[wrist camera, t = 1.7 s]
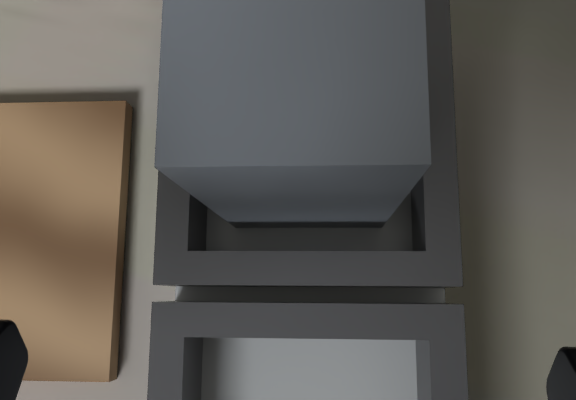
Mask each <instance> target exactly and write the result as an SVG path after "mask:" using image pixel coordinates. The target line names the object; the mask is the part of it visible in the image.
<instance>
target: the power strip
mask: <svg viewBox="0 0 576 400" xmlns="http://www.w3.org/2000/svg"><path fill="white" fill-rule="evenodd" d="M425 16H426V42H427V67H428V93H429V118H430V143H431V166H430V167H429V168H428V169H427V171H426V172H425V173H424V174H423V176H422V177H421V178H420V180H419V181H418V182H417V183H416V185H415V186H414V187H413V189H412V190H411V191H410V192H409V194H408V195H407V196H406V197H405V199H404V200H403V201H402V203H401V204H400V205H399V206H398V208H397V209H396V210H395V212H394V213H393V214H392V215H391V217H390V218H389V219H388V220H387V222H386V223H385V224H384V226H383V227H382V228H235V227H233V226H232V225H231V224H229V223H228V222H227V221H225V220H224V219H223V218H221V217H220V216H219V215H217V214H216V213H215V212H213V211H212V210H211V209H210V208H208V207H207V206H206V205H204V204H203V203H202V202H200V201H199V200H198V199H196V198H195V197H194V196H192V195H191V194H190V193H188V192H187V191H186V190H184V189H183V188H182V187H180V186H179V185H178V184H176V183H175V182H174V181H172V180H171V179H170V178H168V177H167V176H166V175H164V174H163V173H162V172H160V171H159V170H158V190H157V211H156V231H155V252H154V272H153V285H164V286H176V293H175V301H166V302H152V313H151V333H150V354H149V374H148V394H147V400H468V380H467V359H466V338H465V317H464V304H448V303H445V288H449V287H462V286H463V275H462V254H461V233H460V212H459V191H458V170H457V149H456V129H455V108H454V87H453V66H452V45H451V24H450V3H449V0H425Z"/></svg>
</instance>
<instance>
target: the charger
mask: <svg viewBox="0 0 576 400" xmlns="http://www.w3.org/2000/svg"><path fill="white" fill-rule="evenodd" d="M430 166H431V143H430V118H429V93H428V67H427V42H426V16H425V0H163V9H162V28H161V48H160V68H159V88H158V108H157V128H156V147H155V168H156V169H158V170H159V171H160V172H162V173H163V174H164V175H166V176H167V177H168V178H170V179H171V180H172V181H174V182H175V183H176V184H178V185H179V186H180V187H182V188H183V189H184V190H186V191H187V192H188V193H190V194H191V195H192V196H194V197H195V198H196V199H198V200H199V201H200V202H202V203H203V204H204V205H206V206H207V207H208V208H210V209H211V210H212V211H213V212H215V213H216V214H217V215H219V216H220V217H221V218H223V219H224V220H225V221H227V222H228V223H229V224H231V225H232V226H233V227H235V228H382V227H383V226H384V224H385V223H386V222H387V220H388V219H389V218H390V217H391V215H392V214H393V213H394V212H395V210H396V209H397V208H398V206H399V205H400V204H401V203H402V201H403V200H404V199H405V197H406V196H407V195H408V194H409V192H410V191H411V190H412V189H413V187H414V186H415V185H416V183H417V182H418V181H419V180H420V178H421V177H422V176H423V174H424V173H425V172H426V171H427V169H428V168H429V167H430Z"/></svg>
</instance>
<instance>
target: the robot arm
mask: <svg viewBox="0 0 576 400" xmlns="http://www.w3.org/2000/svg"><path fill="white" fill-rule="evenodd" d="M27 364H28V350H27V348H26V345H25V343H24V341H23V339H22V336H21V334H20V332H19V330H18V327H17V325H16V324H15V323H14V322H13V321H12V320H4V319H0V400H16V397H17V394H18V391H19V388H20V385H21V382H22V379H23V376H24V373H25V370H26V367H27ZM546 388H547V396H548V400H576V347H562V348H561V349H560V350H559V351H558V353H557V355H556V358H555V360H554V363H553V365H552V368H551V370H550V373H549V375H548V378H547V385H546Z"/></svg>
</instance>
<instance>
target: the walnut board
mask: <svg viewBox="0 0 576 400" xmlns="http://www.w3.org/2000/svg"><path fill="white" fill-rule="evenodd" d="M132 111H133V107H132V106H131V105H130V104H129V103H128V102H127V101H83V102H30V103H0V319H4V320H12V321H13V322H14V323H15V324H16V325H17V327H18V330H19V332H20V334H21V336H22V339H23V341H24V343H25V345H26V348H27V350H28V364H27V367H26V370H25V373H24V376H23V379H22V380H27V381H81V382H110V381H113V380H115V379H117V367H118V350H119V333H120V316H121V299H122V282H123V264H124V247H125V230H126V213H127V196H128V179H129V162H130V145H131V128H132Z"/></svg>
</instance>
